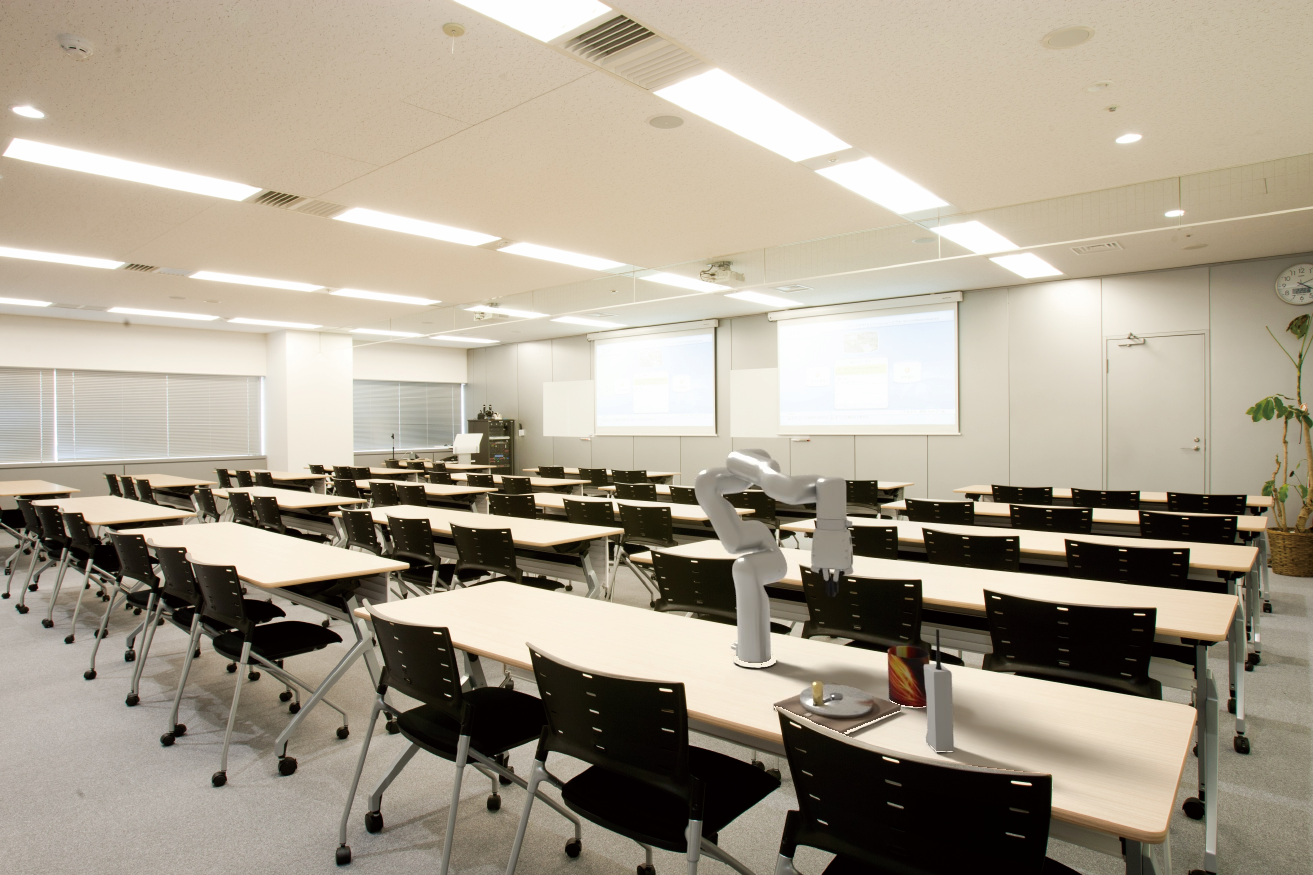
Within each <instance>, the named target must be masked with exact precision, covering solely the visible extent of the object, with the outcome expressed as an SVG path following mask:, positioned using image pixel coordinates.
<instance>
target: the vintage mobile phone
mask: <svg viewBox="0 0 1313 875" xmlns="http://www.w3.org/2000/svg"><path fill="white" fill-rule="evenodd" d="M935 634H936V635H935V641H936V643H935V644H936V646H935V647H936V651H935V655H936V656H935V662H936V663H932V664H931V663H929V664H924V677H925V689H926V696H927V707H926V721H927V722H926V725H927V728H926V729H927V730H926V735H925V742H926V744H927V743H928V744H930V745H931V746H932V747H933V748H934V749H935V750H936V751H954V752H955V750H954V749H955V744H954V742H955V741H954V711H953V709H954V706H953V705H954V704H953V679H952V678H953V676H952V675H953V673H952V671H951V670H949V669H948V668H946V666H944V665H943V664H941V662H942V661H941V649H940V648H941V647H940V644H941V643H940V629H938V628H937V629H935ZM928 744H927V745H928Z"/></svg>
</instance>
